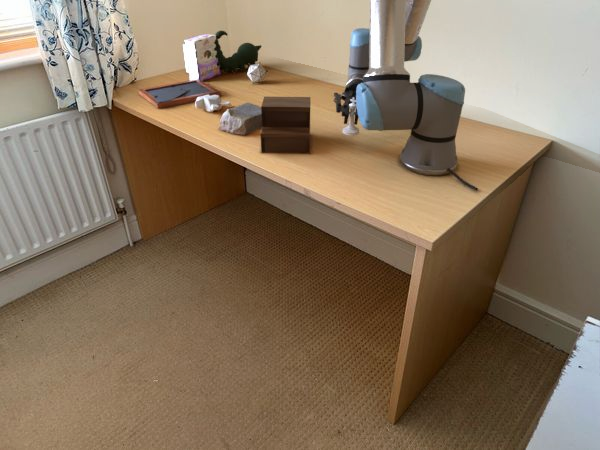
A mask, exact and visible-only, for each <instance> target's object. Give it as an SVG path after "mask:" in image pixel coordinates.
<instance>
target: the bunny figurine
mask: <svg viewBox="0 0 600 450" xmlns="http://www.w3.org/2000/svg"><path fill="white" fill-rule="evenodd" d="M194 105H195V106H194V107H195V108H196V109H202V110H203V109H204V110H205V111H206V112H210V113H213V112H214V111H220V110H221V109H222V107H223V106H226V107H232V102H231V101H222V99H221V96H218V95H212V96H209V95H204V96H200V97H197V99H196V101H194Z"/></svg>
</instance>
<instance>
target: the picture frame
mask: <svg viewBox="0 0 600 450" xmlns="http://www.w3.org/2000/svg"><path fill="white" fill-rule="evenodd" d="M138 94H139V95H140V96H141V97H143V98H144V99H145V100H146V101H148V102H149V104H151V105H153V107H155V108H156V109H163V108H168V107H173V106H178V105H182V104H187V103H192V102H196V99H197V97H200V96H204V95H209V96H212V95H218V96H219V97H221V90H219V89H217V88H215V87H213V86H212V85H210V84H208V83H206V82H205V81H201V80H199V79H195V80H190V79H189V80H184V81H179V82H172V83H168V84H162V85H155V86H150V87H146V88H145V87H144V88H141V89H140V88H139V89H138Z"/></svg>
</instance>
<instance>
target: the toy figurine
mask: <svg viewBox="0 0 600 450" xmlns="http://www.w3.org/2000/svg"><path fill="white" fill-rule="evenodd" d="M214 35H216V40H215V42H214V44H215V45H216V47H215V48H214V50H215V51H216V52H217V55H215V58H218V62H217V66H219V65H220V72H222V71H223V72H224V73H228V72H232V73H233V74H236V73H237V71H238V70H239V69H240V70H241V71H245V70H246V68H247V67H248V68H249V67H250V65H253V64H256V62H258V61H259V51H260V50H261V48H262V45H255V44H253V43H252V42H243V43H242V44H240V45H239V46H238V48H237V51H236V52H234V53H232V55H231V56H228V57H226V56H225V55H224V53H223V51H222V48H221V45H220V42H219V40H220V39H221V38H222V37H223V36H229V35H228V33H227V31H225V30H218V31H216V32H215V34H214ZM249 63H250V65H249ZM246 66H247V67H246Z"/></svg>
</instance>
